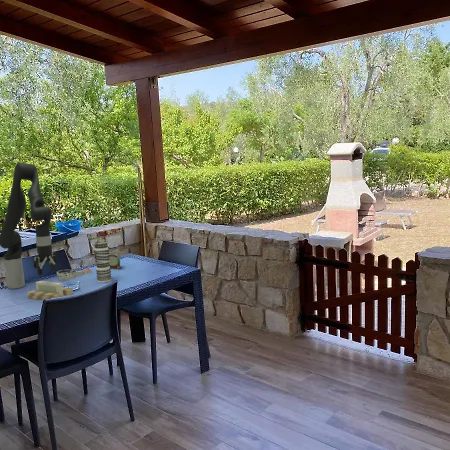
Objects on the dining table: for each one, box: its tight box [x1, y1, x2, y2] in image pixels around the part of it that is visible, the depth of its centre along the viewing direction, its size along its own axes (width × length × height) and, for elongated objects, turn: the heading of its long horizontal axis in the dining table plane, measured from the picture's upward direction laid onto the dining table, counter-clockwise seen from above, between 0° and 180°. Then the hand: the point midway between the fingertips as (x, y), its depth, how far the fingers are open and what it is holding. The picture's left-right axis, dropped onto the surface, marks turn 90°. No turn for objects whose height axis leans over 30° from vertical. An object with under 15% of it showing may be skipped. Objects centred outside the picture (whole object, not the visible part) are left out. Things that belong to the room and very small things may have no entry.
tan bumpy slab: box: [27, 287, 74, 301], centre depth 248 cm, size 20×13×3 cm, turn 66°
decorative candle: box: [93, 238, 112, 283], centre depth 271 cm, size 9×9×25 cm
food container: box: [108, 252, 122, 271], centre depth 302 cm, size 12×6×10 cm, turn 58°
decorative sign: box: [56, 268, 92, 282], centre depth 290 cm, size 22×2×20 cm
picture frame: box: [35, 280, 64, 296], centre depth 247 cm, size 16×4×7 cm, turn 66°
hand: (46, 273), depth 245 cm, fingers open, 8 cm apart
